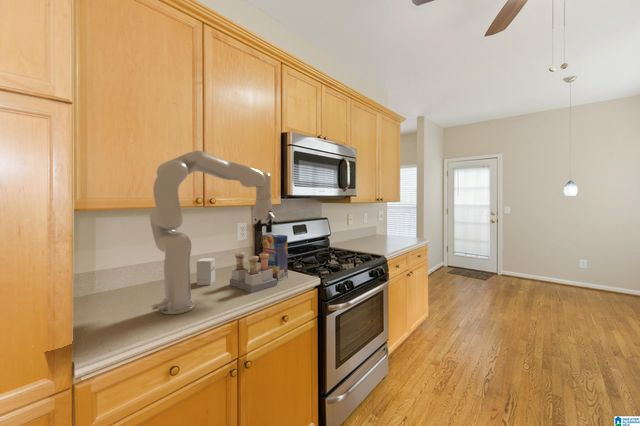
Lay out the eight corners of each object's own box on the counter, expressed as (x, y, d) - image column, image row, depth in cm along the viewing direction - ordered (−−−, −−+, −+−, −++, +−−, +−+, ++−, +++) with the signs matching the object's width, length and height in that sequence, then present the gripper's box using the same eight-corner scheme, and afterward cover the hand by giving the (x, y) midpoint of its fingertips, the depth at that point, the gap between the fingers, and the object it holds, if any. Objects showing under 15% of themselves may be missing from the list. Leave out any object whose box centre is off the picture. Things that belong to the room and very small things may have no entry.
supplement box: (211, 285, 148) (210, 261, 148) (196, 285, 148) (195, 261, 147) (215, 280, 156) (215, 257, 155) (201, 281, 155) (201, 258, 155)
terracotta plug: (263, 272, 146) (263, 255, 145) (257, 270, 149) (257, 254, 148) (271, 270, 149) (270, 254, 149) (265, 268, 152) (265, 252, 152)
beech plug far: (238, 271, 146) (238, 255, 146) (233, 270, 149) (233, 253, 149) (246, 269, 150) (246, 253, 149) (241, 268, 153) (241, 252, 152)
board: (251, 292, 137) (251, 276, 136) (229, 284, 149) (229, 269, 149) (277, 285, 149) (277, 269, 148) (255, 277, 161) (255, 263, 161)
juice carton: (287, 278, 161) (287, 235, 160) (277, 281, 156) (277, 237, 154) (273, 274, 169) (273, 233, 167) (263, 277, 163) (262, 235, 161)
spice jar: (252, 276, 138) (252, 258, 138) (246, 274, 141) (246, 257, 141) (260, 274, 142) (260, 257, 141) (254, 272, 145) (254, 255, 144)
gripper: (247, 197, 149) (247, 231, 151) (268, 197, 138) (268, 234, 139) (259, 197, 155) (259, 229, 156) (280, 197, 144) (280, 232, 145)
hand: (264, 231), depth 148 cm, fingers open, 7 cm apart
